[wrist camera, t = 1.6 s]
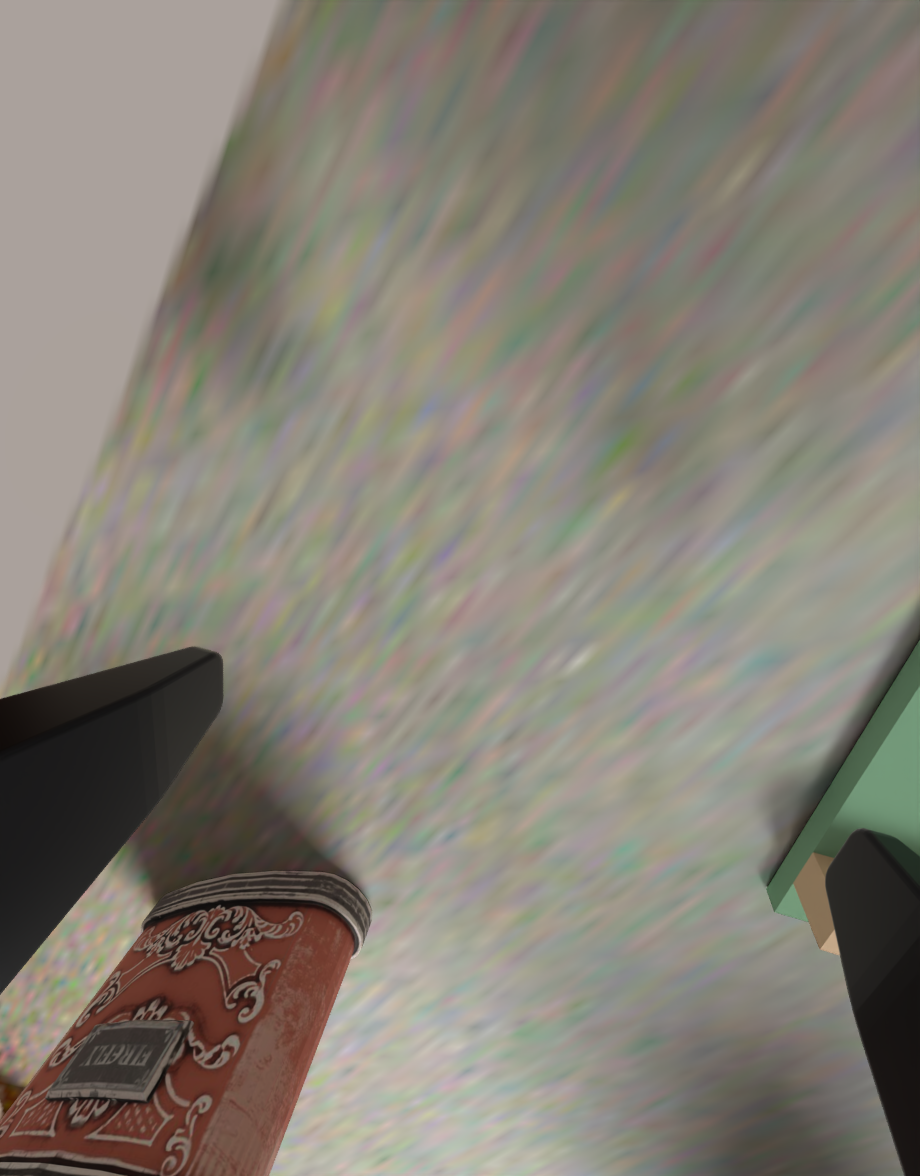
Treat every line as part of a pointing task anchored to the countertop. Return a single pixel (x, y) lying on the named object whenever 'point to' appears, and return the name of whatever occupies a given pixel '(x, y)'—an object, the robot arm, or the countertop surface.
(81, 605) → the countertop surface
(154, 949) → the lighter
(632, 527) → the countertop surface
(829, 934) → the track
